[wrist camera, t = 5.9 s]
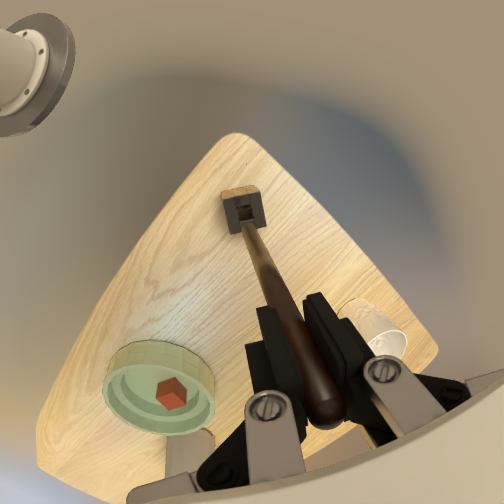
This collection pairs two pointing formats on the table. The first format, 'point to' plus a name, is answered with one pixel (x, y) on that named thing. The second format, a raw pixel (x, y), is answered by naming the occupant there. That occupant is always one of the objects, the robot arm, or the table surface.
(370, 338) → the white cup
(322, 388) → the chopstick
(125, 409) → the bowl
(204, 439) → the jar
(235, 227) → the holder
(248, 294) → the table surface
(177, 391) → the block
